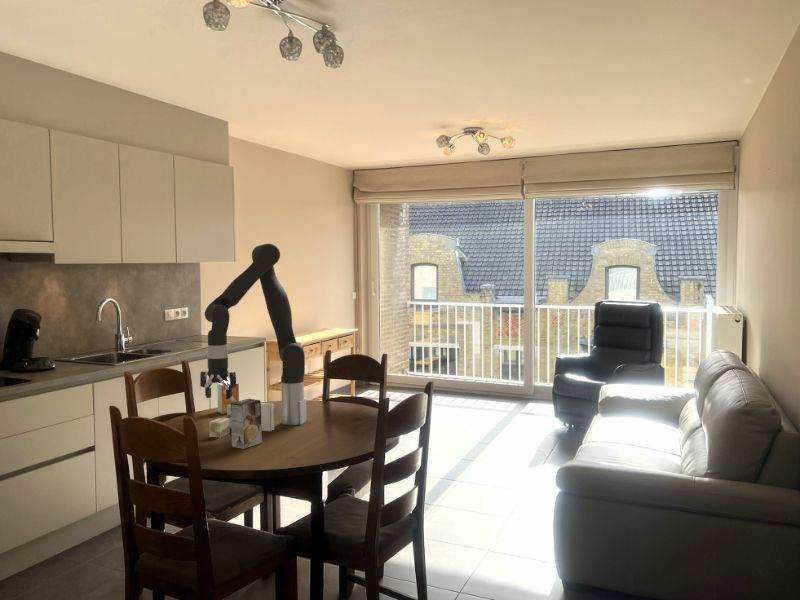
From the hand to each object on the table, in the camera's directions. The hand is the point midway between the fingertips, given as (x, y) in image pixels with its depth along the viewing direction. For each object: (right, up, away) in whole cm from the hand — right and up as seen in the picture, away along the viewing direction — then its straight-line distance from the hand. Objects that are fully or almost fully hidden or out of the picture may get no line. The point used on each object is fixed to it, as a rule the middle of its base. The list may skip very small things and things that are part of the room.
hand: (218, 398), depth 237 cm
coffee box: (+14, -15, -13) cm, 25 cm away
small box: (-8, -13, +42) cm, 45 cm away
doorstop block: (0, -15, +1) cm, 15 cm away
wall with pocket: (+15, -14, +8) cm, 22 cm away
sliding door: (+6, -14, +11) cm, 18 cm away
